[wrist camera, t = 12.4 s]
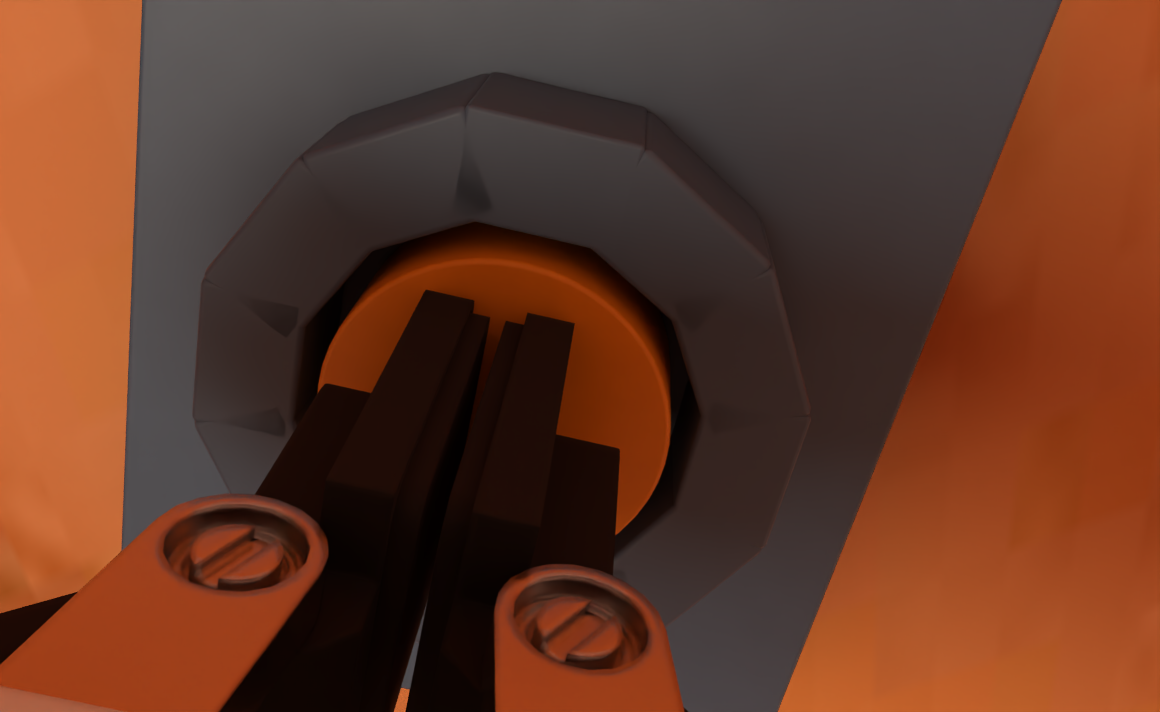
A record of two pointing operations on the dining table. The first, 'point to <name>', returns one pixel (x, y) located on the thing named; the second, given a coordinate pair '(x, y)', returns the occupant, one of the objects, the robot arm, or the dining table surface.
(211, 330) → the push button box
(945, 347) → the dining table surface
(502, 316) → the button
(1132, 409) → the dining table surface
